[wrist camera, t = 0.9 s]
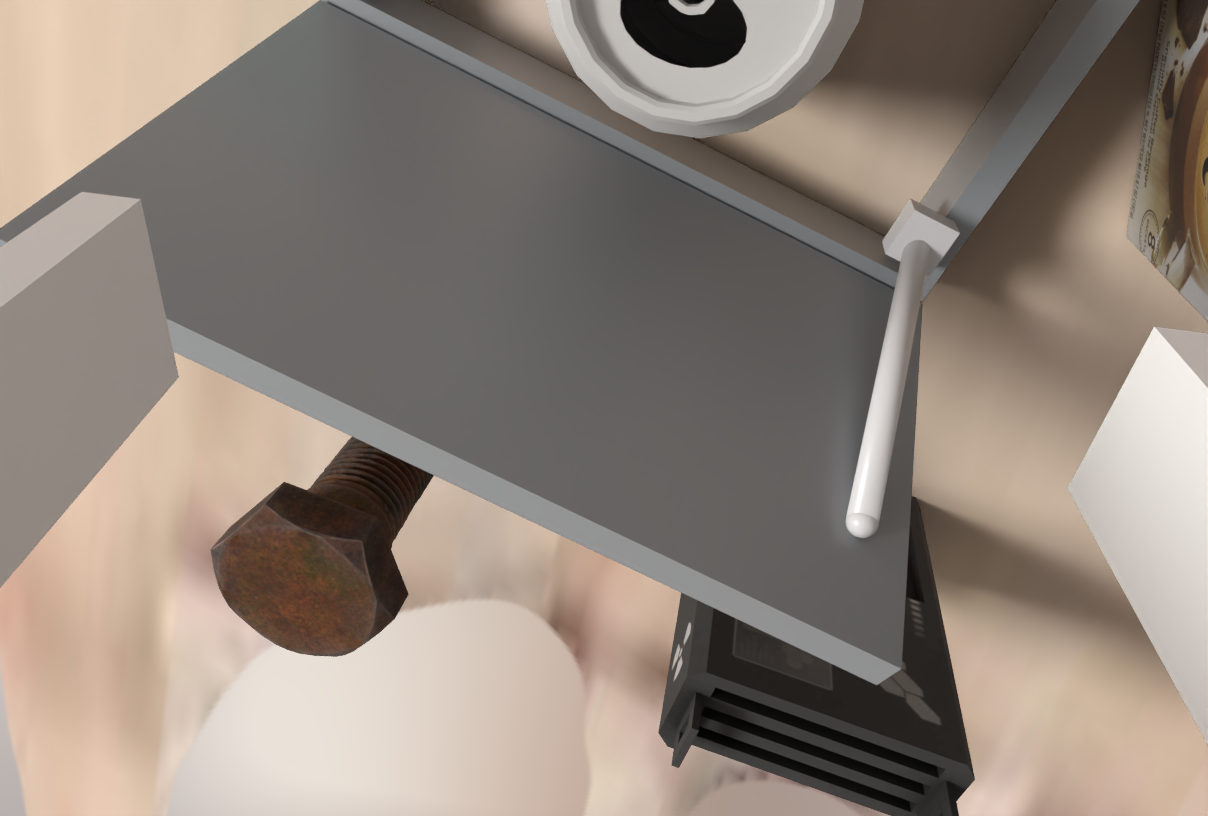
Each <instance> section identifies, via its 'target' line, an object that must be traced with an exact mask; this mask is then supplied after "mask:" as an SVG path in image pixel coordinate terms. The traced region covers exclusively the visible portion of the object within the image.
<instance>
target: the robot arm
mask: <svg viewBox="0 0 1208 816" xmlns="http://www.w3.org/2000/svg"><path fill="white" fill-rule="evenodd" d="M178 377H179V376H178V372H177V367H176V362H175V358H174V353H173V348H172V344H171V339H170V334H169V329H168V325H167V320H166V315H165V311H164V306H163V301H162V296H161V292H160V287H159V282H158V278H157V273H156V268H155V264H154V259H153V254H152V249H151V245H150V240H149V235H148V231H147V226H146V221H145V217H144V212H143V207H142V202H141V199H135V198H127V197H119V196H111V195H103V194H95V193H87V192H81V193H79V194H78V195H76V196H75V197H73V198H72V199H70V200H69V201H67V202H66V203H64V204H63V205H61V206H60V207H59V208H57V209H56V210H54V211H53V212H51V213H50V214H48V215H47V216H45V217H44V218H42V219H41V220H39V221H38V222H37V223H35V224H34V225H32V226H31V227H29V228H28V229H26V230H25V231H23V232H22V233H20V234H19V235H17V236H16V237H15V238H13V239H12V240H10V241H9V242H7V243H6V244H4V245H3V246H1V247H0V588H1V586H2V585H3V584H4V583H5V582H6V581H7V579H8V578H9V577H10V576H11V575H12V573H13V572H14V571H15V570H16V569H17V568H18V566H19V565H20V564H21V563H22V562H23V560H24V559H25V558H26V557H27V556H28V555H29V553H30V552H31V551H32V550H33V549H34V547H35V546H36V545H37V544H38V543H39V542H40V540H41V539H42V538H43V537H44V536H45V534H46V533H47V532H48V531H49V530H50V529H51V527H52V526H53V525H54V524H55V523H56V521H57V520H58V519H59V518H60V517H61V516H62V514H63V513H64V512H65V511H66V510H67V508H68V507H69V506H70V505H71V504H72V503H73V501H74V500H75V499H76V498H77V497H78V495H79V494H80V493H81V492H82V491H83V490H84V488H85V487H86V486H87V485H88V484H89V482H90V481H91V480H92V479H93V478H94V477H95V475H96V474H97V473H98V472H99V471H100V469H101V468H102V467H103V466H104V465H105V464H106V462H107V461H108V460H109V459H110V458H111V456H112V455H113V454H114V453H115V452H116V451H117V449H118V448H119V447H120V446H121V445H122V443H123V442H124V441H125V440H126V439H127V438H128V436H129V435H130V434H131V433H132V432H133V430H134V429H135V428H136V427H137V426H138V425H139V423H140V422H141V421H142V420H143V419H144V417H145V416H146V415H147V414H148V413H149V412H150V410H151V409H152V408H153V407H154V406H155V404H156V403H157V402H158V401H159V400H160V399H161V397H162V396H163V395H164V394H165V393H166V391H167V390H168V389H169V388H170V387H171V386H172V384H173V383H174V382H175V381H176V380H177V378H178ZM1067 489H1068V491H1069V492H1070V494H1071V496H1072V498H1073V500H1074V502H1075V503H1076V505H1077V507H1078V509H1079V511H1080V513H1081V514H1082V516H1083V518H1084V520H1085V522H1086V524H1087V525H1088V527H1089V529H1090V531H1091V533H1092V535H1093V536H1094V538H1095V540H1096V542H1097V544H1098V546H1099V547H1100V549H1101V551H1102V553H1103V555H1104V557H1105V558H1106V560H1107V562H1108V564H1109V566H1110V567H1111V569H1112V571H1113V573H1114V575H1115V577H1116V578H1117V580H1118V582H1119V584H1120V586H1121V588H1122V589H1123V591H1124V593H1125V595H1126V597H1127V599H1128V600H1129V602H1130V604H1131V606H1132V608H1133V610H1134V611H1135V613H1136V615H1137V617H1138V619H1139V621H1140V622H1141V624H1142V626H1143V628H1144V630H1145V632H1146V633H1147V635H1148V637H1149V639H1150V641H1151V643H1152V644H1153V646H1154V648H1155V650H1156V652H1157V654H1158V655H1159V657H1160V659H1161V661H1162V663H1163V664H1164V666H1165V668H1166V670H1167V672H1168V674H1169V675H1170V677H1171V679H1172V681H1173V683H1174V685H1175V686H1176V688H1177V690H1178V692H1179V694H1180V696H1181V697H1182V699H1183V701H1184V703H1185V705H1186V707H1187V708H1188V710H1189V712H1190V714H1191V716H1192V718H1193V719H1194V721H1195V723H1196V725H1197V727H1198V729H1199V730H1200V732H1201V734H1202V736H1203V738H1204V740H1205V741H1206V743H1207V745H1208V333H1202V332H1194V331H1186V330H1178V329H1170V328H1162V327H1154V328H1153V330H1152V332H1151V334H1150V335H1149V337H1148V339H1147V341H1146V343H1145V345H1144V347H1143V349H1142V350H1141V352H1140V354H1139V356H1138V358H1137V360H1136V362H1135V363H1134V365H1133V367H1132V369H1131V371H1130V373H1129V375H1128V376H1127V378H1126V380H1125V382H1124V384H1123V386H1122V388H1121V390H1120V391H1119V393H1118V395H1117V397H1116V399H1115V401H1114V403H1113V404H1112V406H1111V408H1110V410H1109V412H1108V414H1107V416H1106V418H1105V419H1104V421H1103V423H1102V425H1101V427H1100V429H1099V431H1098V432H1097V434H1096V436H1095V438H1094V440H1093V442H1092V444H1091V446H1090V447H1089V449H1088V451H1087V453H1086V455H1085V457H1084V459H1083V460H1082V462H1081V464H1080V466H1079V468H1078V470H1077V472H1076V474H1075V475H1074V477H1073V479H1072V481H1071V483H1070V485H1069V487H1068V488H1067Z"/></svg>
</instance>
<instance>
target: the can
mask: <svg viewBox="0 0 1208 816" xmlns="http://www.w3.org/2000/svg"><path fill="white" fill-rule="evenodd" d="M546 2H547V7H548V11H549V16H550V21H551V25H552V30H553V32H554V33H555V35H556V37H557V39H558V41H559V43H560V45H561V46H562V48H563V50H564V52H565V54H566V56H567V58H568V60H569V61H570V63H571V65H572V67H573V69H574V71H575V73H576V74H577V76H578V77H579V78H580V79H581V80H582V81H583V82H584V83H585V84H586V85H587V86H588V87H589V88H590V89H591V90H592V91H593V92H594V93H595V94H596V95H597V96H598V97H599V98H600V99H601V100H602V101H603V102H604V103H605V104H606V105H607V106H608V107H609V108H610V109H611V110H613V111H615V112H617V113H619V114H621V115H623V116H625V117H627V118H629V119H631V120H633V121H635V122H637V123H639V124H641V125H643V126H645V127H647V128H648V129H650V130H652V131H655V132H662V133H668V134H675V135H681V136H688V137H694V138H706V137H712V136H718V135H724V134H731V133H737V132H743V131H748V130H750V129H752V128H754V127H756V126H758V125H760V124H762V123H764V122H766V121H768V120H770V119H772V118H774V117H775V116H777V115H779V114H781V113H783V112H785V111H787V110H789V109H791V108H793V107H794V106H795V105H796V104H797V103H798V102H799V101H800V100H801V99H802V98H803V97H804V96H805V95H806V94H807V93H808V92H810V91H811V90H812V89H813V88H814V87H815V86H816V85H817V84H818V83H819V82H820V81H821V80H822V79H823V78H824V77H825V76H826V75H827V74H828V73H829V72H830V71H831V70H832V68H833V67H834V65H835V63H836V61H837V60H838V58H839V56H840V54H841V53H842V51H843V49H844V47H845V45H846V44H847V42H848V40H849V38H850V37H851V35H852V33H853V31H854V30H855V28H856V26H857V24H858V22H859V21H860V17H861V12H862V8H863V4H864V0H546Z"/></svg>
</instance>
